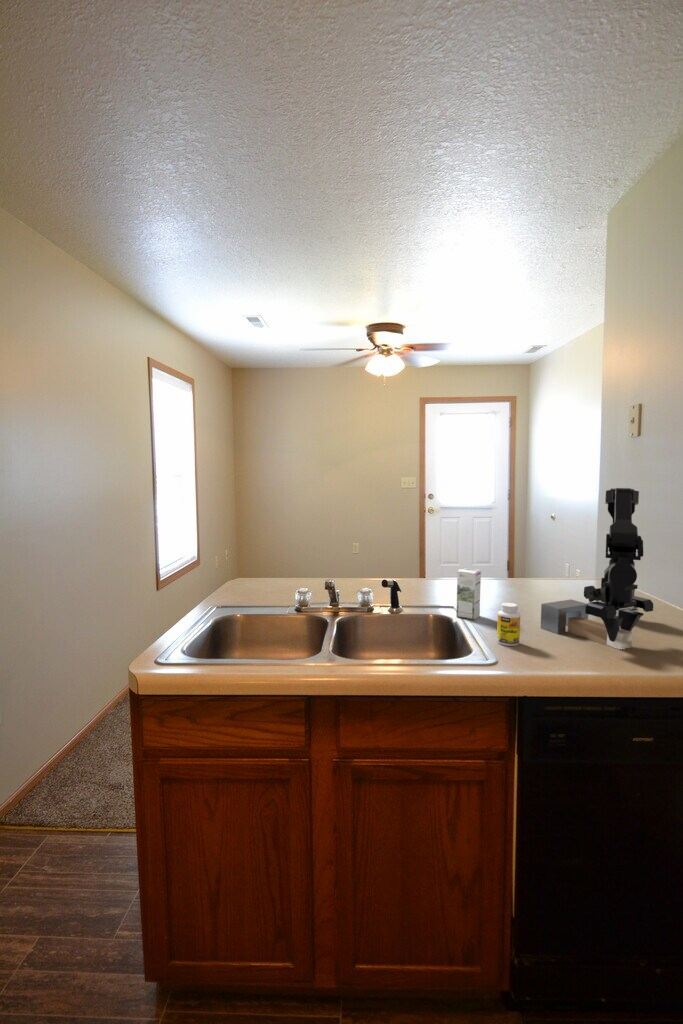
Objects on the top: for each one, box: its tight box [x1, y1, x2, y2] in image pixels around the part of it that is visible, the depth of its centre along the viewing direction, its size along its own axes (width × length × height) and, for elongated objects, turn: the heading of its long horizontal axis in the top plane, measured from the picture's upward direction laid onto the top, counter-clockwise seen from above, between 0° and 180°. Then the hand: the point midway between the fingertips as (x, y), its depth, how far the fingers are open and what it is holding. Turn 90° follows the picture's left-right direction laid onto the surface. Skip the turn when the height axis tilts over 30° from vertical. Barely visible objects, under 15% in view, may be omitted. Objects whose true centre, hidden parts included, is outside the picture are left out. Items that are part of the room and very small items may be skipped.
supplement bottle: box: [496, 602, 521, 647], centre depth 135 cm, size 6×6×10 cm
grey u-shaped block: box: [540, 599, 589, 635], centre depth 149 cm, size 12×6×7 cm, turn 116°
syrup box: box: [455, 567, 482, 620], centre depth 160 cm, size 6×6×14 cm
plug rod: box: [567, 616, 633, 651], centre depth 139 cm, size 4×16×4 cm, turn 26°
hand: (617, 640), depth 134 cm, fingers closed on plug rod, 4 cm apart
